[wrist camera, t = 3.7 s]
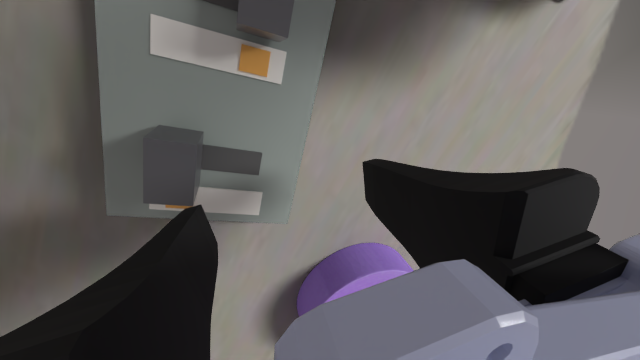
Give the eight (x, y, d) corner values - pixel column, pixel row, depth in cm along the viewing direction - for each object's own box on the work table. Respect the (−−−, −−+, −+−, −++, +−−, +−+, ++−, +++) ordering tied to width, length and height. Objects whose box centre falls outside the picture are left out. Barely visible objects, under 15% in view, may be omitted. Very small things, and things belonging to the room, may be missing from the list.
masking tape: (414, 295, 29) (437, 326, 26) (322, 347, 28) (333, 386, 25) (390, 220, 24) (415, 246, 20) (275, 281, 23) (282, 319, 19)
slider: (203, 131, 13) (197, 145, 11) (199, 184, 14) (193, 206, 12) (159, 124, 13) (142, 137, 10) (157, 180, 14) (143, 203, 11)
